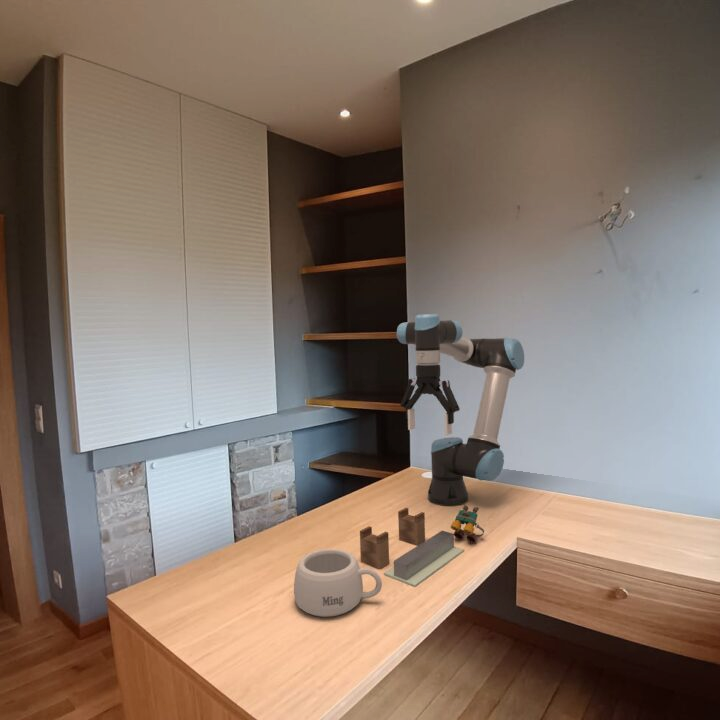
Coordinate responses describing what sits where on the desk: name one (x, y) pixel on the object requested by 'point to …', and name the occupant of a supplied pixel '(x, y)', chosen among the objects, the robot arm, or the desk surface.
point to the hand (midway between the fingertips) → (429, 431)
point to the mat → (428, 568)
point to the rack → (378, 546)
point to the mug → (331, 582)
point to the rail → (423, 555)
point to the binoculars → (469, 520)
